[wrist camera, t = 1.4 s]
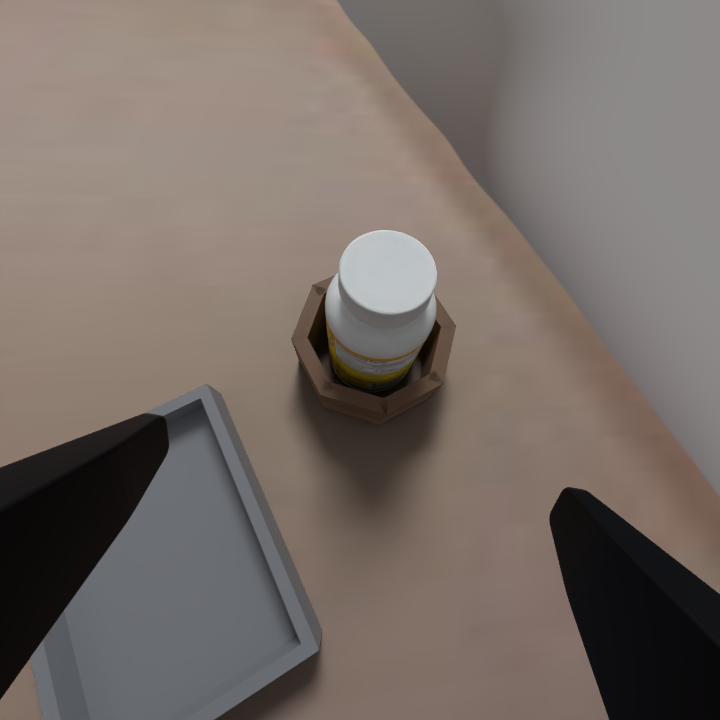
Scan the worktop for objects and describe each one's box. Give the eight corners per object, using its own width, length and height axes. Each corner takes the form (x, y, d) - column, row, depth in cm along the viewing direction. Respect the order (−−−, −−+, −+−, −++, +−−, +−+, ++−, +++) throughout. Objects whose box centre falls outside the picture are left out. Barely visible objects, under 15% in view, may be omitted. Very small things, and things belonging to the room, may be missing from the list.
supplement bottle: (387, 409, 22) (418, 357, 13) (313, 368, 23) (293, 292, 14) (424, 339, 24) (475, 250, 15) (354, 304, 24) (361, 197, 15)
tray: (321, 630, 18) (318, 650, 16) (102, 773, 16) (64, 819, 14) (220, 393, 22) (207, 383, 20) (32, 483, 20) (-7, 483, 18)
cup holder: (461, 380, 23) (481, 363, 19) (342, 445, 21) (342, 438, 18) (394, 276, 25) (401, 245, 22) (282, 327, 23) (272, 302, 20)
